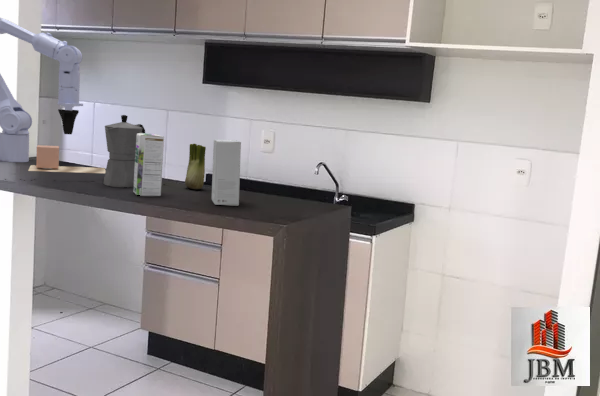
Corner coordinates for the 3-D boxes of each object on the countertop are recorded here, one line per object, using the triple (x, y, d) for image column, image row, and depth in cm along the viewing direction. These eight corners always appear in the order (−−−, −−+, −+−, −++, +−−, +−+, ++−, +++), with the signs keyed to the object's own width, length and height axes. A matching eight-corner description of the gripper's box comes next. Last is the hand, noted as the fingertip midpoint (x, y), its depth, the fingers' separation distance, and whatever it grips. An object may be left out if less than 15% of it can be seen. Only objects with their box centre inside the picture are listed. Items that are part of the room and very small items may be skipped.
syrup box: (132, 192, 150) (134, 132, 148) (157, 192, 153) (159, 133, 151) (136, 196, 145) (139, 134, 143) (162, 196, 148) (165, 135, 146)
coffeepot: (121, 189, 153) (123, 116, 150) (89, 185, 156) (91, 113, 153) (156, 183, 167) (159, 116, 164) (127, 179, 170) (130, 113, 168)
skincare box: (239, 206, 143) (243, 142, 141) (212, 205, 142) (216, 140, 139) (234, 200, 151) (238, 139, 149) (209, 199, 150) (213, 137, 147)
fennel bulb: (205, 191, 162) (208, 145, 160) (187, 190, 160) (189, 144, 158) (200, 187, 167) (203, 143, 165) (182, 187, 165) (184, 142, 163)
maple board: (28, 174, 165) (28, 170, 165) (30, 168, 176) (30, 165, 176) (106, 176, 172) (106, 173, 172) (104, 171, 183) (104, 167, 183)
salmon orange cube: (36, 167, 168) (36, 147, 167) (37, 165, 173) (37, 145, 173) (58, 168, 170) (58, 148, 169) (58, 165, 175) (59, 146, 175)
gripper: (84, 89, 176) (82, 136, 178) (83, 88, 189) (81, 133, 191) (57, 86, 173) (56, 135, 176) (58, 86, 187) (57, 131, 189)
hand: (67, 134), depth 183 cm, fingers closed
